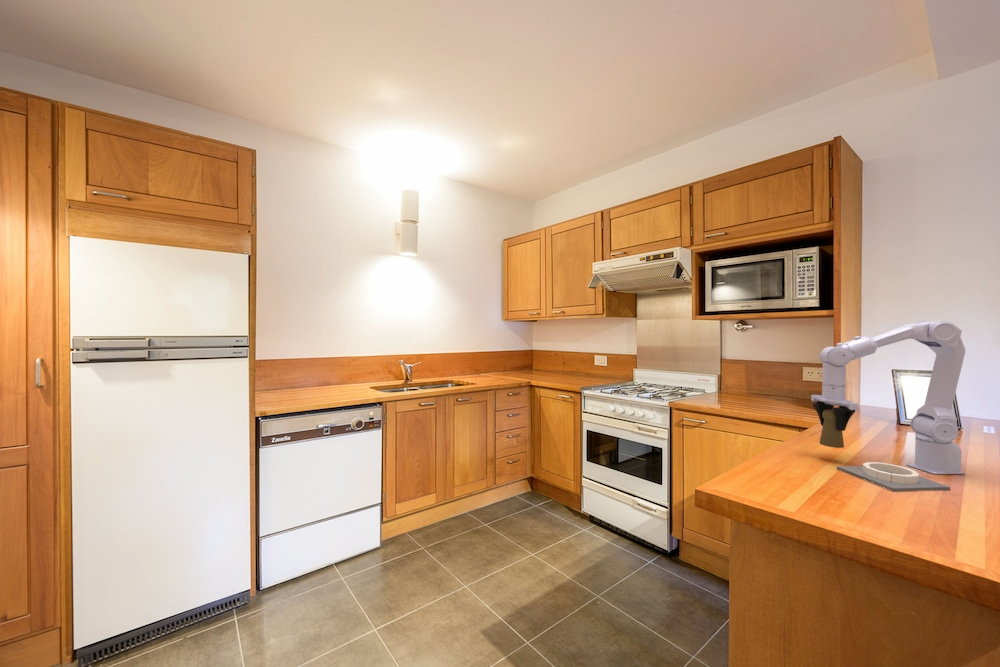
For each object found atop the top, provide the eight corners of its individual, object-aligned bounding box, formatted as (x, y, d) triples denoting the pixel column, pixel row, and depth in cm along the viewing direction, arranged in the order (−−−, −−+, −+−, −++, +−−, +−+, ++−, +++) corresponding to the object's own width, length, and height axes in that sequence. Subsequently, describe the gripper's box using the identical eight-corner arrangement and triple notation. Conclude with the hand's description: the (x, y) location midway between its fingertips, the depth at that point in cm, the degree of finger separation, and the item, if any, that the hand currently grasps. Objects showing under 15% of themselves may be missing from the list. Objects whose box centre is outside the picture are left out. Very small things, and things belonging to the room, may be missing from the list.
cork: (834, 442, 129) (836, 408, 129) (849, 448, 123) (850, 412, 123) (814, 441, 130) (816, 407, 130) (828, 447, 124) (829, 412, 124)
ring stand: (887, 468, 121) (887, 458, 120) (950, 490, 105) (950, 479, 105) (836, 469, 120) (837, 459, 119) (892, 491, 104) (893, 480, 103)
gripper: (802, 381, 133) (802, 422, 134) (842, 388, 119) (841, 434, 119) (823, 381, 134) (822, 422, 134) (865, 388, 119) (864, 434, 119)
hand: (832, 428), depth 127 cm, fingers closed on cork, 5 cm apart
